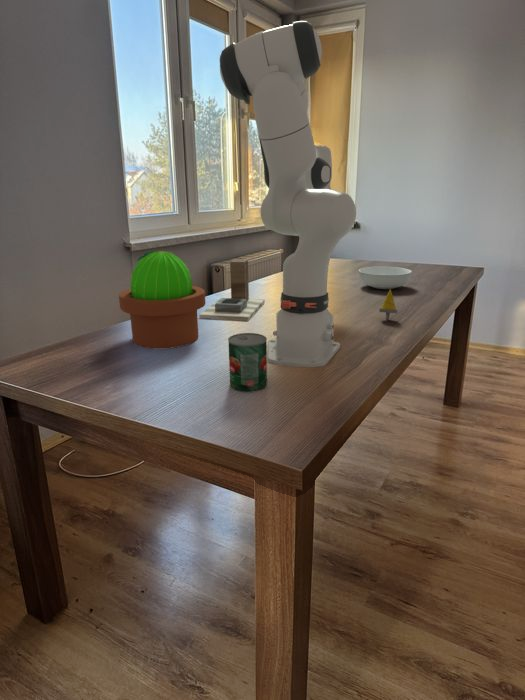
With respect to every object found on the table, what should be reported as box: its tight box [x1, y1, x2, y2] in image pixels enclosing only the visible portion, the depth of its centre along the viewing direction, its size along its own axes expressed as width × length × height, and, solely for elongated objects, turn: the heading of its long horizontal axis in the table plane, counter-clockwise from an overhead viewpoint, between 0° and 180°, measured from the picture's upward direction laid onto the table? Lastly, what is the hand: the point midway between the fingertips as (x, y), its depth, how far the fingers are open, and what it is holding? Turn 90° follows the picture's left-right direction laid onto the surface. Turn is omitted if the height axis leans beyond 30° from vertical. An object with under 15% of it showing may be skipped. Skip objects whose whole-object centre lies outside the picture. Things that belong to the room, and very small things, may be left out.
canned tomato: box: [227, 332, 268, 393], centre depth 100 cm, size 8×8×11 cm
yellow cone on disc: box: [378, 289, 398, 322], centre depth 148 cm, size 5×5×10 cm
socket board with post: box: [198, 259, 266, 322], centre depth 160 cm, size 24×16×16 cm, turn 168°
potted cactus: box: [118, 250, 206, 349], centre depth 129 cm, size 22×22×25 cm
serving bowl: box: [358, 266, 413, 290], centre depth 195 cm, size 21×21×7 cm
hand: (315, 247), depth 154 cm, fingers closed on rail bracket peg, 6 cm apart
